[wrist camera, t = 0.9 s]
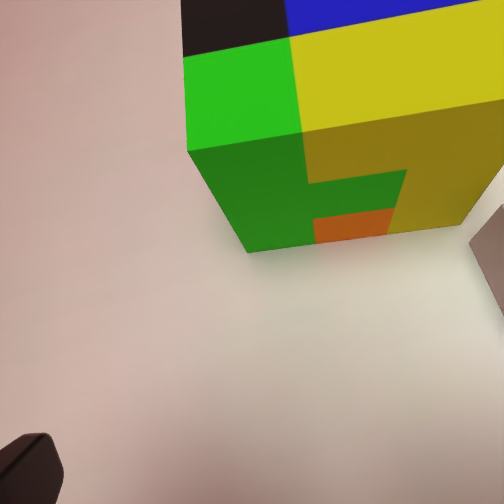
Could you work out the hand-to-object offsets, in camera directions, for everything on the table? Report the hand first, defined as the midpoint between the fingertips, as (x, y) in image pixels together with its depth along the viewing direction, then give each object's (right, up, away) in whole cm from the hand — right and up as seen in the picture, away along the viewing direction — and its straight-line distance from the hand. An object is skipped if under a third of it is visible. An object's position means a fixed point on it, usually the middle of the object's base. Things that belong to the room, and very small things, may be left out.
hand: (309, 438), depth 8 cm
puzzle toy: (+3, +8, +16) cm, 19 cm away
